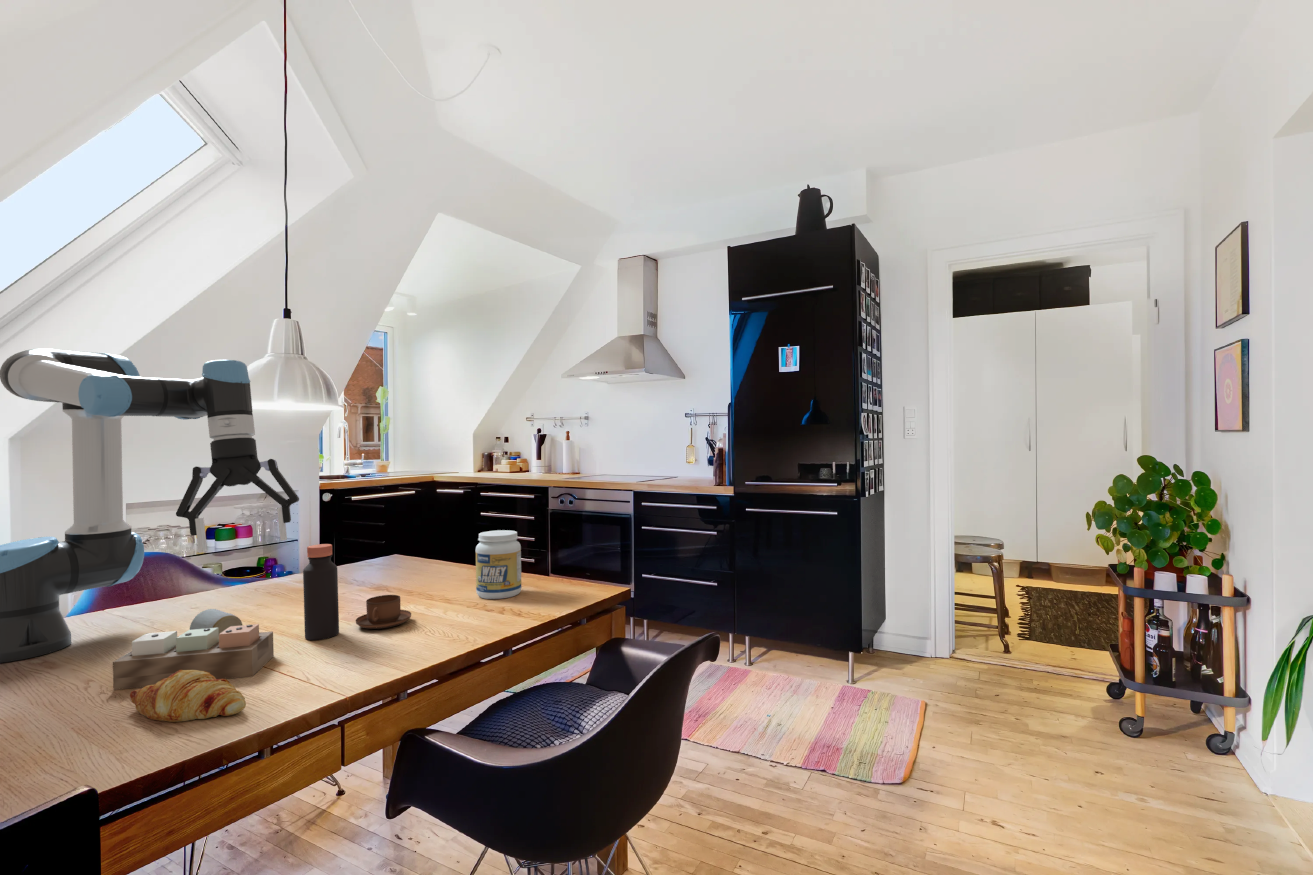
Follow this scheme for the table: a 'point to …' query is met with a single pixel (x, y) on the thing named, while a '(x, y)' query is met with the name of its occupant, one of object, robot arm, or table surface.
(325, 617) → the bottle
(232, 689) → the croissant
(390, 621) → the cup and saucer
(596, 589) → the table surface
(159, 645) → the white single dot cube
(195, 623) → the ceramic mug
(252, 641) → the three pip tile
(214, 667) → the wooden tile tray
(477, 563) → the supplement tub
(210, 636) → the two pip tile
